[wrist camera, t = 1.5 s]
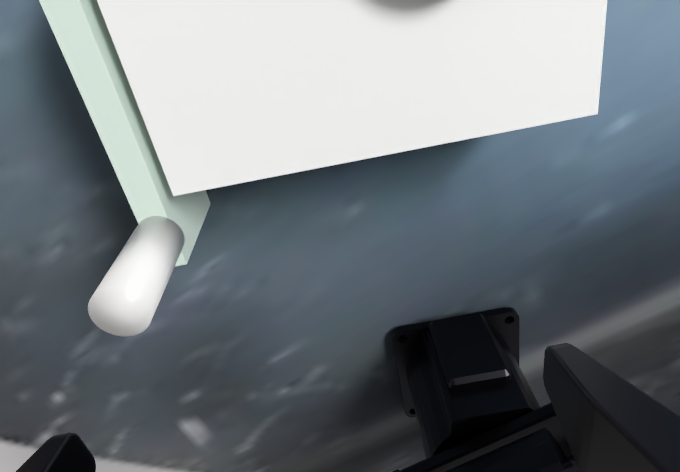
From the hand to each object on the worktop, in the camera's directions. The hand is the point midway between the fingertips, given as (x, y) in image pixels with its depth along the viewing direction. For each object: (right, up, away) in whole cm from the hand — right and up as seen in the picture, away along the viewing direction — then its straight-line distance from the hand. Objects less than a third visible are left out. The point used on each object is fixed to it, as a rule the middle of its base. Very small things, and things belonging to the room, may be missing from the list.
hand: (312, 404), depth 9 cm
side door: (-6, +9, +9) cm, 14 cm away
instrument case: (+1, +12, +8) cm, 15 cm away
